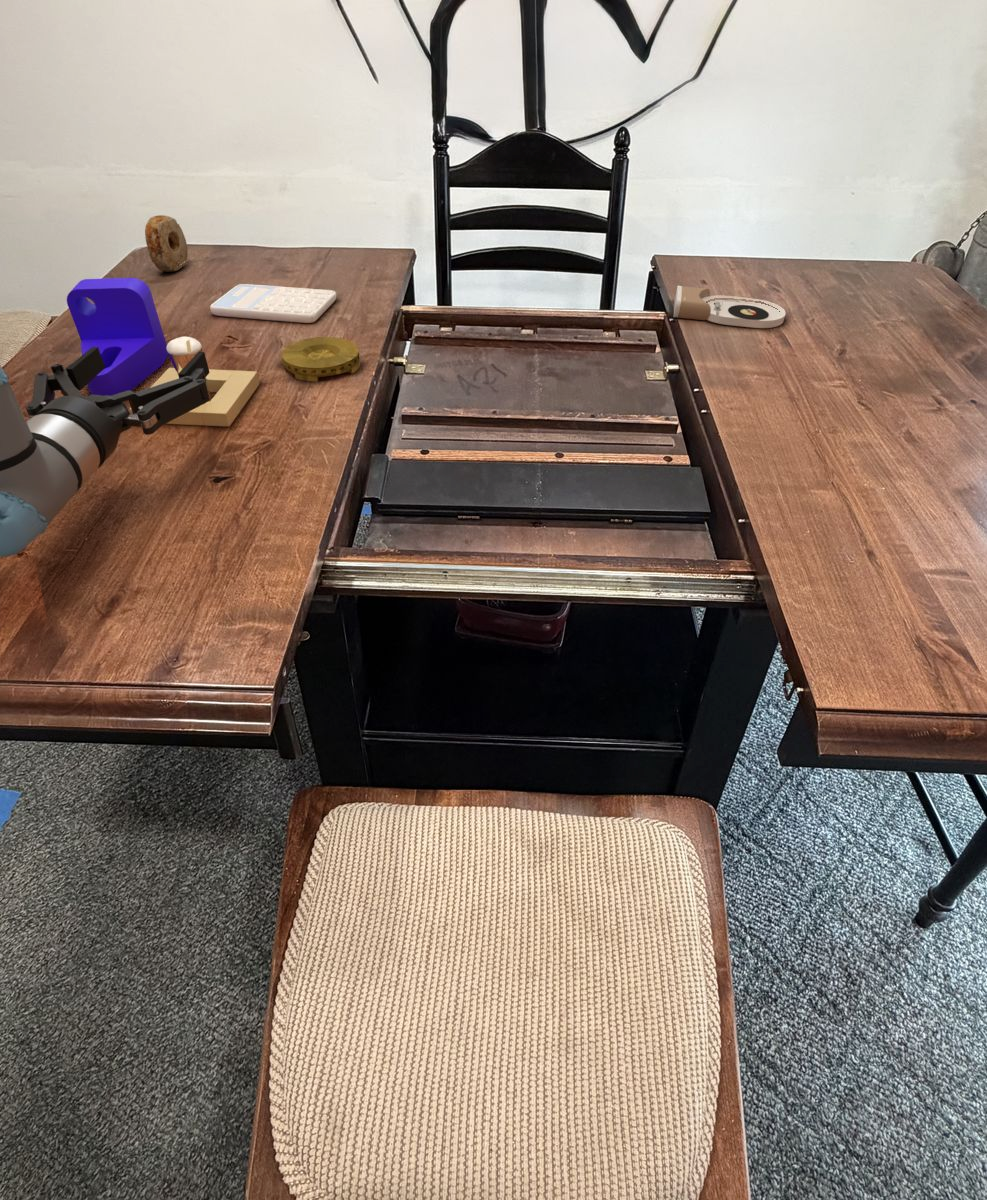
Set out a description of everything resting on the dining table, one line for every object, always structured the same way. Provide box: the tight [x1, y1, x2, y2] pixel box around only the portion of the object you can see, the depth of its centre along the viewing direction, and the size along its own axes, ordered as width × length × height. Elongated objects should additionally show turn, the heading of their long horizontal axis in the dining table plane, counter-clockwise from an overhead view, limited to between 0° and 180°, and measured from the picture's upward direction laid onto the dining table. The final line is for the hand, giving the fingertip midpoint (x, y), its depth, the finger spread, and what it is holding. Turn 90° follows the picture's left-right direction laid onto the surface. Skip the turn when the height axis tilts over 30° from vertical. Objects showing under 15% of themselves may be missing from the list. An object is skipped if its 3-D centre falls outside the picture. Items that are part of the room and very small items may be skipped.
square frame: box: [128, 367, 261, 428], centre depth 103 cm, size 14×14×2 cm
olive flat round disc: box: [281, 336, 361, 382], centre depth 113 cm, size 12×12×2 cm
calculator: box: [209, 283, 338, 324], centre depth 132 cm, size 13×20×2 cm, turn 80°
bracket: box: [66, 277, 169, 396], centre depth 105 cm, size 18×11×12 cm, turn 7°
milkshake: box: [166, 335, 212, 401], centre depth 100 cm, size 4×5×10 cm
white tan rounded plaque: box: [673, 285, 787, 329], centre depth 132 cm, size 12×3×20 cm
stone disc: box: [144, 214, 189, 273], centre depth 144 cm, size 10×4×10 cm, turn 169°
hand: (151, 359), depth 90 cm, fingers open, 13 cm apart
